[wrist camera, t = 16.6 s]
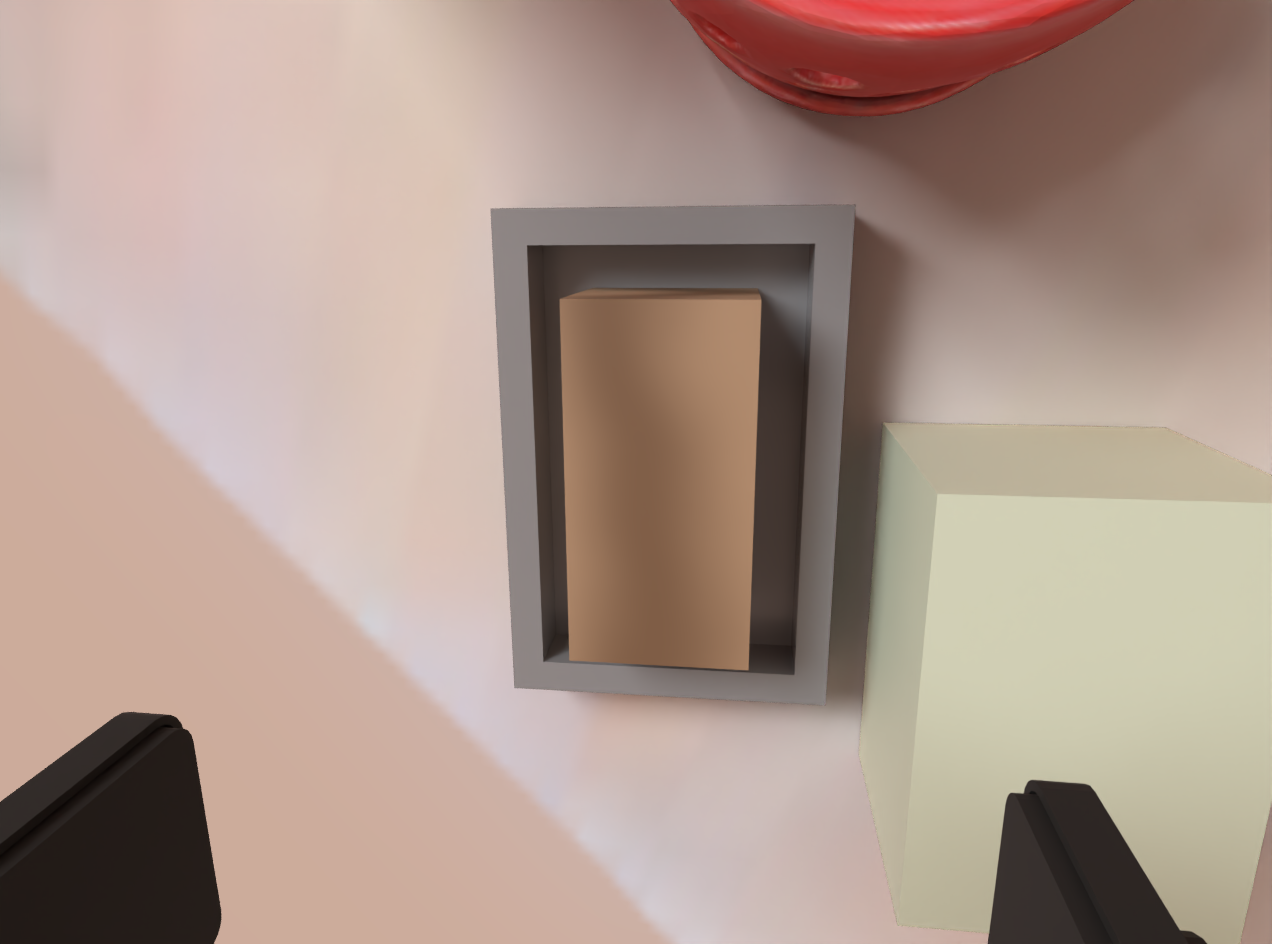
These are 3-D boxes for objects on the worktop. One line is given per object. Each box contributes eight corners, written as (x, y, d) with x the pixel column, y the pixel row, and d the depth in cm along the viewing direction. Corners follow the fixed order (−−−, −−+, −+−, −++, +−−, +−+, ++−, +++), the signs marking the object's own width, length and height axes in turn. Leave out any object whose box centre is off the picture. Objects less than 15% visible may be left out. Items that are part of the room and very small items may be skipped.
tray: (843, 208, 25) (855, 204, 23) (817, 662, 29) (825, 705, 27) (516, 211, 26) (490, 208, 24) (534, 648, 30) (514, 687, 28)
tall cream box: (1165, 427, 26) (1338, 504, 18) (1109, 770, 29) (1237, 954, 22) (882, 422, 27) (937, 493, 19) (858, 754, 30) (897, 925, 22)
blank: (757, 288, 25) (761, 300, 21) (747, 596, 28) (748, 670, 23) (593, 287, 26) (559, 298, 21) (598, 589, 29) (569, 660, 24)
